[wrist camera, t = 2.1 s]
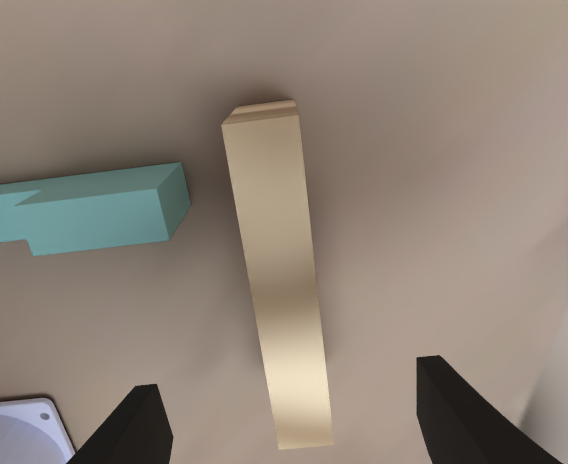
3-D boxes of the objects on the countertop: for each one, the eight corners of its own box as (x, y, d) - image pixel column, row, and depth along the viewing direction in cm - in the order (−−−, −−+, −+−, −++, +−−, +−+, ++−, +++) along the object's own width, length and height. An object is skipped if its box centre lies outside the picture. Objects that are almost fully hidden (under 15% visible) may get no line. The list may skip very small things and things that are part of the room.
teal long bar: (190, 204, 19) (169, 240, 15) (-101, 239, 20) (-189, 282, 16) (181, 162, 18) (156, 188, 15) (-123, 199, 19) (-220, 234, 15)
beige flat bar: (323, 365, 23) (333, 444, 18) (279, 370, 23) (279, 449, 18) (294, 99, 17) (298, 115, 13) (237, 106, 17) (221, 125, 13)
